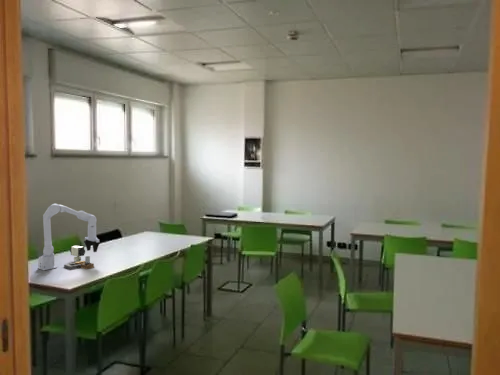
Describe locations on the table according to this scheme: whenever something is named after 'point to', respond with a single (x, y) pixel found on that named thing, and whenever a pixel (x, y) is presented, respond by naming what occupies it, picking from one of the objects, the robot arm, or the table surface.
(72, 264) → the socket block
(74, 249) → the pneumatic valve
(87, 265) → the rack
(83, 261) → the drift key
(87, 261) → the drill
